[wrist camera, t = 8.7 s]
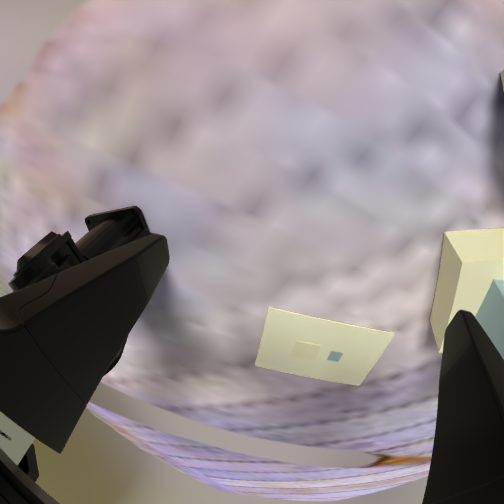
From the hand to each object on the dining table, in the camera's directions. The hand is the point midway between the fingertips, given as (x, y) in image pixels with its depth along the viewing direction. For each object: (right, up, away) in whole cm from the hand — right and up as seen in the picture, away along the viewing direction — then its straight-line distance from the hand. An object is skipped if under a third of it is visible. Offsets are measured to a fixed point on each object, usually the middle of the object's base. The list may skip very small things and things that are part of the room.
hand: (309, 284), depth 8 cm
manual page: (+5, -9, +20) cm, 23 cm away
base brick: (+18, -1, +12) cm, 21 cm away
